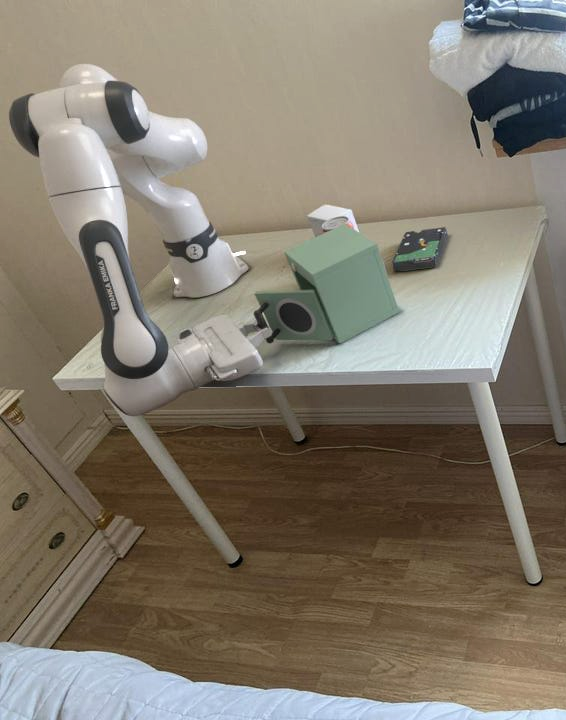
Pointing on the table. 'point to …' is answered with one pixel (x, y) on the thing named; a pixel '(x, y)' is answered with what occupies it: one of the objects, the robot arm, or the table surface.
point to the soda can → (336, 223)
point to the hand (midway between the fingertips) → (266, 326)
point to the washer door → (292, 315)
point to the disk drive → (420, 249)
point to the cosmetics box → (328, 217)
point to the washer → (345, 280)
